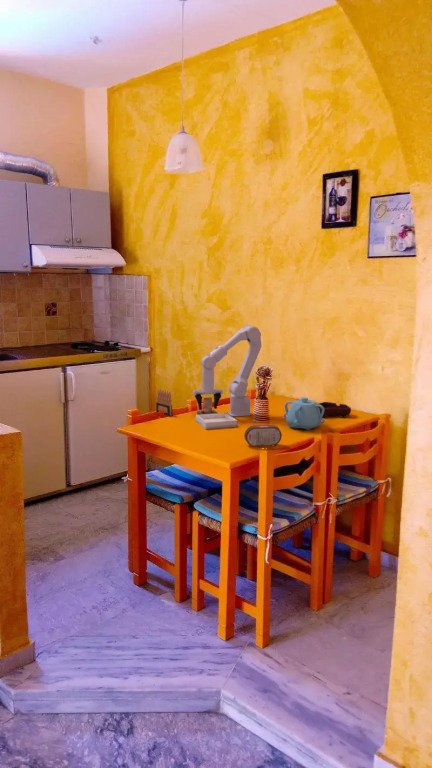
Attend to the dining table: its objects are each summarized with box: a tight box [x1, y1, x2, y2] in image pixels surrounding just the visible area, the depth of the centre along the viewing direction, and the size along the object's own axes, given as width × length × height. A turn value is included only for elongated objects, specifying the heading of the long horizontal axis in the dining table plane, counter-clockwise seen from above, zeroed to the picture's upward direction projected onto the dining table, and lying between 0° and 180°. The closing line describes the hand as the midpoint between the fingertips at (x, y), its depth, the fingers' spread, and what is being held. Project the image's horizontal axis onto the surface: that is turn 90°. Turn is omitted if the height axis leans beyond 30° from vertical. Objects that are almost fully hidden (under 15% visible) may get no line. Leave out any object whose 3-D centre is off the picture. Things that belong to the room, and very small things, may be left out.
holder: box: [196, 409, 218, 415], centre depth 284 cm, size 8×8×2 cm
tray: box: [195, 412, 238, 430], centre depth 269 cm, size 15×15×3 cm
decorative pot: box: [283, 396, 326, 431], centre depth 265 cm, size 16×16×14 cm
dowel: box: [203, 396, 213, 414], centre depth 283 cm, size 4×4×9 cm
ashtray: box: [318, 401, 352, 419], centre depth 290 cm, size 18×16×5 cm
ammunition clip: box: [155, 388, 173, 417], centre depth 287 cm, size 11×2×12 cm, turn 43°
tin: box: [243, 424, 283, 447], centre depth 236 cm, size 15×3×8 cm, turn 99°
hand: (207, 408), depth 283 cm, fingers open, 7 cm apart
